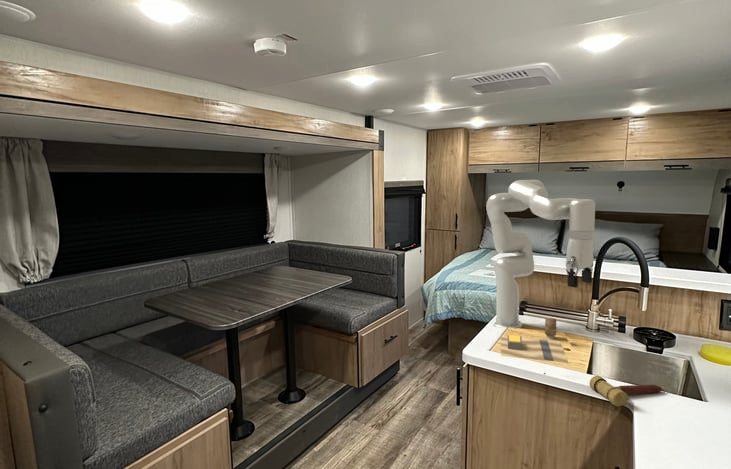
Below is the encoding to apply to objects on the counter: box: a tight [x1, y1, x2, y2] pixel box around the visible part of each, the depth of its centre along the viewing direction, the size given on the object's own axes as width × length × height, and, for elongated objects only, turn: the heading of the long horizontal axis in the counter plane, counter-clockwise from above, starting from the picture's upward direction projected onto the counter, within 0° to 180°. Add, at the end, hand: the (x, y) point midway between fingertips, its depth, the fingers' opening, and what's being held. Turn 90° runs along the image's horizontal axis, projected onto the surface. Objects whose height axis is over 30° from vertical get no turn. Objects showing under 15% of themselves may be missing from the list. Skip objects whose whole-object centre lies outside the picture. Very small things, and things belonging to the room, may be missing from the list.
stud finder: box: [507, 334, 522, 350], centre depth 148 cm, size 7×5×3 cm
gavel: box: [589, 375, 666, 407], centre depth 115 cm, size 21×5×10 cm
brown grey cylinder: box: [544, 317, 557, 340], centre depth 155 cm, size 4×4×9 cm
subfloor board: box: [500, 336, 569, 364], centre depth 146 cm, size 19×22×2 cm
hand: (579, 284), depth 133 cm, fingers open, 9 cm apart
